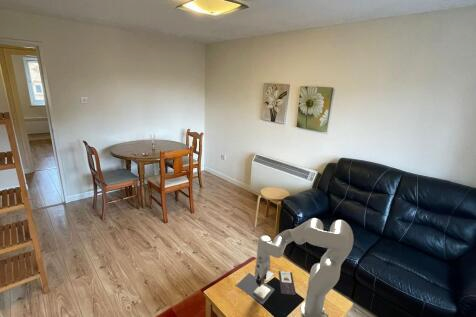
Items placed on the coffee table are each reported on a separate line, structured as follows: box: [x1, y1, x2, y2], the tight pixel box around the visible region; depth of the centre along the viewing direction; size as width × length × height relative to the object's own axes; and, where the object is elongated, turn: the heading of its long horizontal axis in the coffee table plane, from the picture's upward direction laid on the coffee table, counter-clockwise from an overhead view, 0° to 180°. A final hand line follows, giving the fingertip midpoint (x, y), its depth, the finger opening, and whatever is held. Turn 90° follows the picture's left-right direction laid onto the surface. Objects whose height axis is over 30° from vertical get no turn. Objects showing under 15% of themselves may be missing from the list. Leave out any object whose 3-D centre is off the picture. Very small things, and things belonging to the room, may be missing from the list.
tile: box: [254, 284, 271, 299], centre depth 147 cm, size 1×8×7 cm
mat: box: [235, 272, 275, 305], centre depth 150 cm, size 20×14×1 cm
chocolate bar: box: [278, 270, 297, 296], centre depth 155 cm, size 9×1×18 cm
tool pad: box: [264, 270, 274, 282], centre depth 161 cm, size 10×8×1 cm
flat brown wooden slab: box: [257, 275, 266, 287], centre depth 144 cm, size 2×5×10 cm, turn 141°
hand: (261, 280), depth 145 cm, fingers closed on flat brown wooden slab, 5 cm apart
